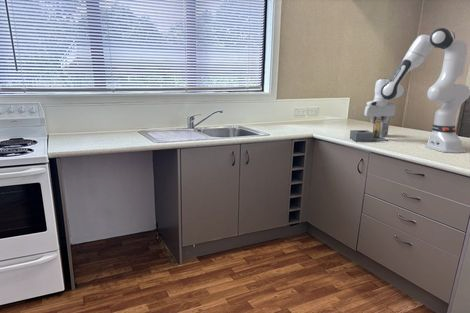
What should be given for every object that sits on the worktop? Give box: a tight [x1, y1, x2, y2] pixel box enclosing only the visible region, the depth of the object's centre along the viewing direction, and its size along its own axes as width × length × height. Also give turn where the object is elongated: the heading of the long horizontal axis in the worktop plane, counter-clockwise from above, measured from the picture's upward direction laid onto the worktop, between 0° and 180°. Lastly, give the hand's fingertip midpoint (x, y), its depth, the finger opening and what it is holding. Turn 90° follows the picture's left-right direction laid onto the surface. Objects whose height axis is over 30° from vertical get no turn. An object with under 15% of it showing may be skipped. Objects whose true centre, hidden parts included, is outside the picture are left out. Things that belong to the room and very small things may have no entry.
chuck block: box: [349, 129, 375, 143], centre depth 234 cm, size 12×12×6 cm
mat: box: [373, 137, 388, 142], centre depth 238 cm, size 12×10×1 cm
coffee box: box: [372, 116, 391, 138], centre depth 249 cm, size 9×6×16 cm
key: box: [374, 121, 381, 139], centre depth 236 cm, size 4×4×12 cm
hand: (378, 122), depth 235 cm, fingers open, 8 cm apart
